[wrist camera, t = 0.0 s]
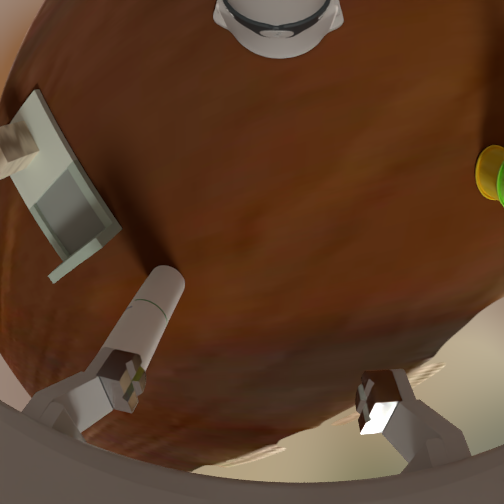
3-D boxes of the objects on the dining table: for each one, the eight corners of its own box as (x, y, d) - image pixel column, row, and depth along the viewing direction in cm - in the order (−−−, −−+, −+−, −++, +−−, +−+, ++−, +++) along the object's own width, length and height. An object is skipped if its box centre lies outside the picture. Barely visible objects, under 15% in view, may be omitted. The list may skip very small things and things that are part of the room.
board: (0, 144, 45) (-24, 153, 39) (39, 89, 40) (12, 92, 33) (72, 265, 58) (53, 283, 51) (122, 228, 52) (102, 247, 46)
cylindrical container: (143, 274, 57) (81, 368, 35) (168, 259, 54) (107, 358, 32) (166, 301, 59) (117, 399, 37) (192, 287, 57) (146, 392, 35)
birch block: (11, 139, 43) (-20, 149, 35) (24, 120, 41) (-8, 128, 34) (26, 168, 46) (-5, 181, 38) (39, 150, 44) (7, 162, 36)
